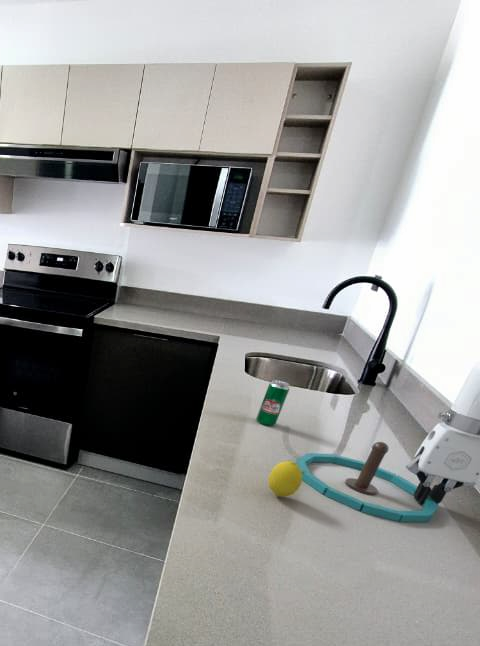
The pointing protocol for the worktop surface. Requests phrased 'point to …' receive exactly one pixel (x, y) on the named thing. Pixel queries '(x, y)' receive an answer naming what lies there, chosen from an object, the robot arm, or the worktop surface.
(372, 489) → the ring toss
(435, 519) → the worktop surface
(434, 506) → the ring
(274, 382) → the soda can
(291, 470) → the lemon
